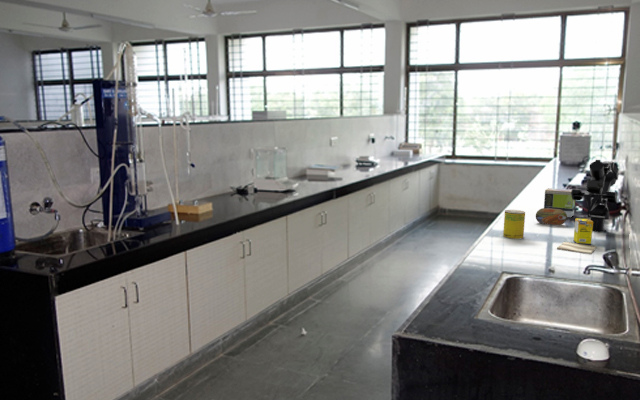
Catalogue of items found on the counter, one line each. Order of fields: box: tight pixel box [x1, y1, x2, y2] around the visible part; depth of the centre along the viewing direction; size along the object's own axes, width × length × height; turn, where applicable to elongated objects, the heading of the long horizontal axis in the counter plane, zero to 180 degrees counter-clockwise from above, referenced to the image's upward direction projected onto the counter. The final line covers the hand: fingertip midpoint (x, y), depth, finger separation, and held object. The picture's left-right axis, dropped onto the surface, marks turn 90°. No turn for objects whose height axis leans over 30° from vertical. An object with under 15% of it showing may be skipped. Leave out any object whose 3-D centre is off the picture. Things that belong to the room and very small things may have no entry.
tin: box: [535, 207, 568, 226], centre depth 272 cm, size 15×3×8 cm, turn 68°
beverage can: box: [502, 209, 526, 240], centre depth 244 cm, size 9×9×12 cm
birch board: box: [556, 241, 597, 255], centre depth 224 cm, size 13×13×1 cm
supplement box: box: [572, 218, 593, 246], centre depth 232 cm, size 6×6×11 cm
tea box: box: [543, 188, 576, 218], centre depth 295 cm, size 15×10×15 cm, turn 58°
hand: (589, 210), depth 240 cm, fingers closed
